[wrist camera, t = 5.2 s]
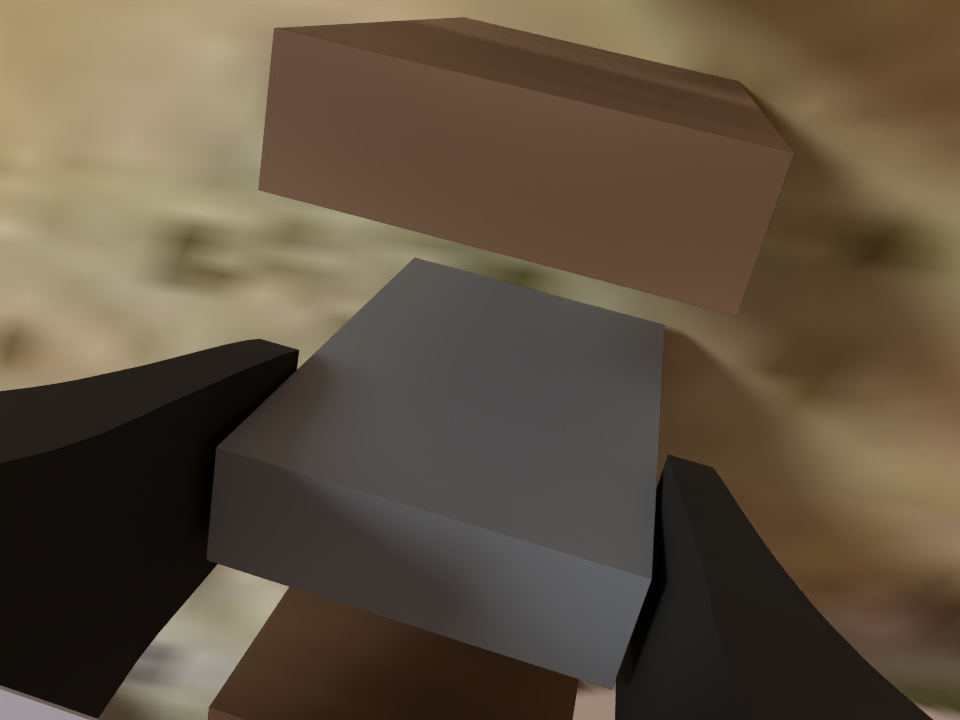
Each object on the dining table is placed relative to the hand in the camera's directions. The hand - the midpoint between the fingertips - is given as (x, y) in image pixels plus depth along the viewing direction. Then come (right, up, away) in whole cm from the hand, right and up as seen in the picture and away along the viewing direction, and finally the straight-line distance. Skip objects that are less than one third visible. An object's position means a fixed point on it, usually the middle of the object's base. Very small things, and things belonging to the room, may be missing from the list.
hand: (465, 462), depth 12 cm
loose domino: (+1, +2, +5) cm, 6 cm away
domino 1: (+2, +6, +4) cm, 7 cm away
